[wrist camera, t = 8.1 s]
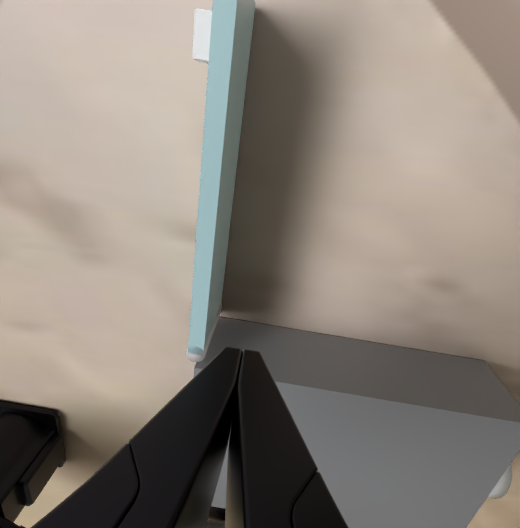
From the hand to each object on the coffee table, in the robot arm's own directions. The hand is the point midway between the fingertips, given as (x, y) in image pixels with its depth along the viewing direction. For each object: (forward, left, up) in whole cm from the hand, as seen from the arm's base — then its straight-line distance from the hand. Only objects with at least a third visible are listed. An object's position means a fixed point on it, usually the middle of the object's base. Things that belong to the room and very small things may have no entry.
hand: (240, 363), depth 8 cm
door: (-3, +2, -12) cm, 12 cm away
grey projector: (+6, -13, -12) cm, 19 cm away
